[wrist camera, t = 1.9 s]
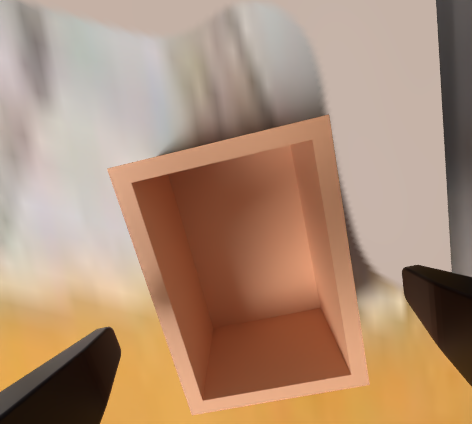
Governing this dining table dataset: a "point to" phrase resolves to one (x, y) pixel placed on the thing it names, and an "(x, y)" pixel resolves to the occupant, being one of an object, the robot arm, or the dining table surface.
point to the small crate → (249, 265)
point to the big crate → (457, 124)
